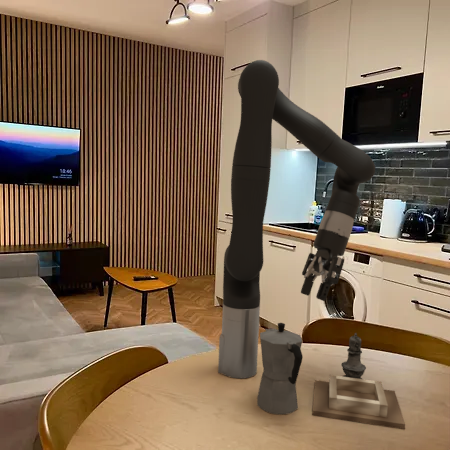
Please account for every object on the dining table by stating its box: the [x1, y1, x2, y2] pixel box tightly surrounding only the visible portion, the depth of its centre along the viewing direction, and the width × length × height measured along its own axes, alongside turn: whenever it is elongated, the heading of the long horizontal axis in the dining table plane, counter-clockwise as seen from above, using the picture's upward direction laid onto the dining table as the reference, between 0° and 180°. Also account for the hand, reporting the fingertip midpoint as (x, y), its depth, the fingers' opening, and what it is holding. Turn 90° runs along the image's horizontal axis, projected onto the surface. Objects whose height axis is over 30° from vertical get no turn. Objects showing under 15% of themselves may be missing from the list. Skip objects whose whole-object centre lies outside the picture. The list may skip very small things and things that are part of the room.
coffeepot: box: [256, 322, 303, 415], centre depth 95 cm, size 15×9×18 cm, turn 19°
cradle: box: [312, 374, 406, 430], centre depth 97 cm, size 18×15×4 cm
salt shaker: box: [341, 332, 367, 379], centre depth 110 cm, size 6×6×12 cm
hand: (312, 297), depth 106 cm, fingers open, 8 cm apart
